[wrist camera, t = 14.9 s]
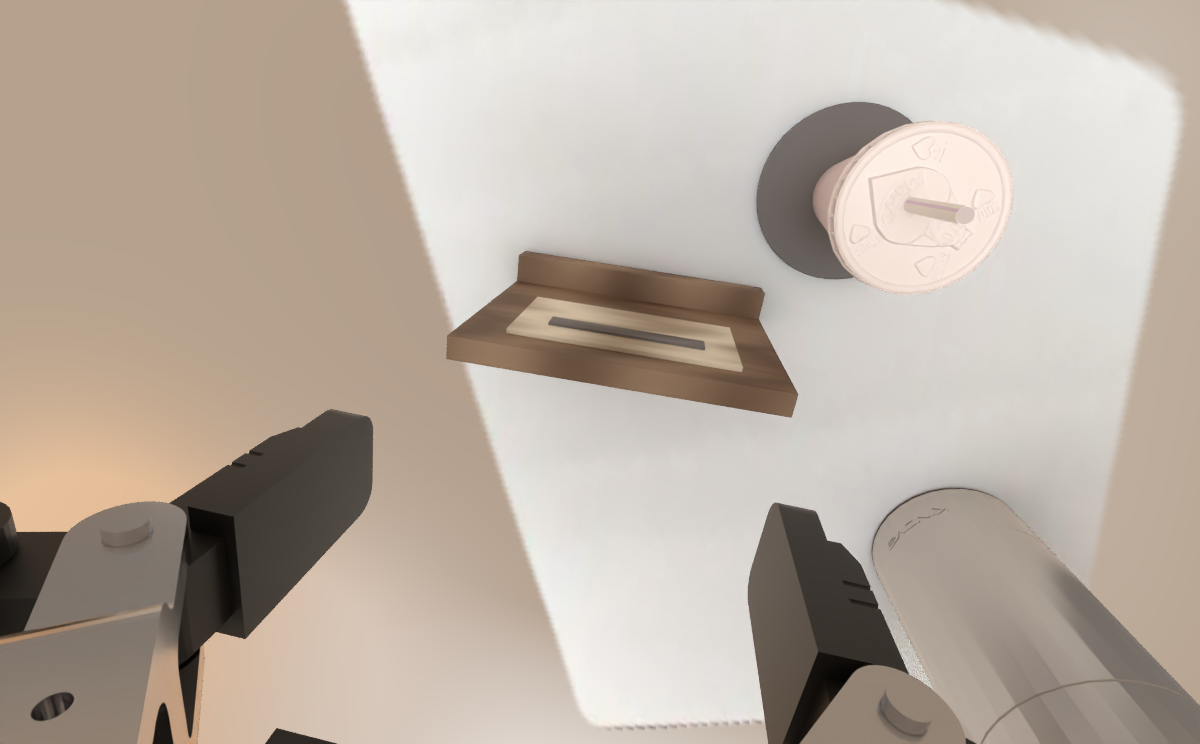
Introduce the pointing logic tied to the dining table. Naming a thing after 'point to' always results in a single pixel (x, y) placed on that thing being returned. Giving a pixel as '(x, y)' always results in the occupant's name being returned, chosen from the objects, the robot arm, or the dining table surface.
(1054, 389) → the dining table surface
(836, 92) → the dining table surface
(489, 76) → the dining table surface
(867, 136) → the coaster
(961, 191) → the smoothie
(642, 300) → the placard
